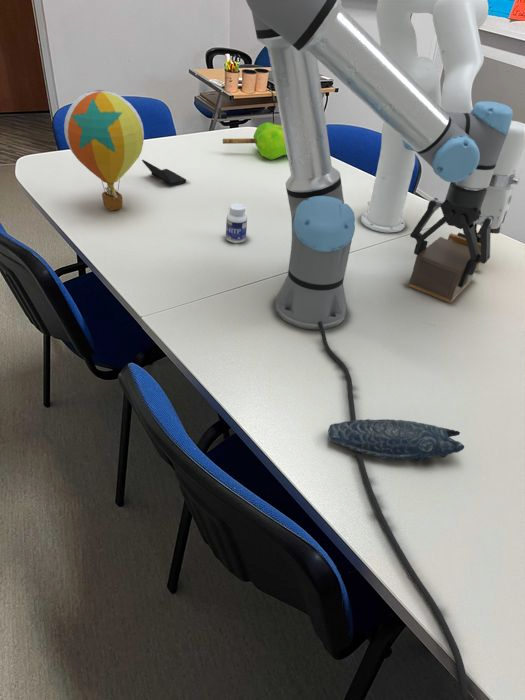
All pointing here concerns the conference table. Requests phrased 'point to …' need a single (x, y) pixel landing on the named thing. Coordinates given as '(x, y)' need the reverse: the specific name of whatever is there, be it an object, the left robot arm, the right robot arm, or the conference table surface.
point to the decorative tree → (266, 140)
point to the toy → (105, 138)
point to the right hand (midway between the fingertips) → (471, 248)
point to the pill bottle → (236, 223)
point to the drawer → (462, 241)
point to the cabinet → (441, 269)
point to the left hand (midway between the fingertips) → (439, 276)
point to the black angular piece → (165, 175)
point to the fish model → (395, 438)
